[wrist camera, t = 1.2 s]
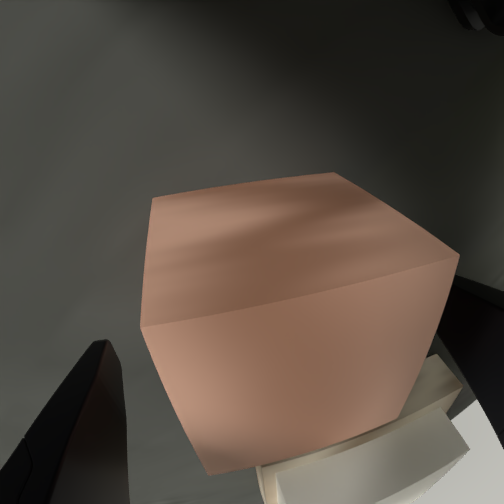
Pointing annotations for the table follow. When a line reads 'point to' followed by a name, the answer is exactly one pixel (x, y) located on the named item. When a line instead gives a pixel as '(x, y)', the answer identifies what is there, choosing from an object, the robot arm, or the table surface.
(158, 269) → the terracotta cube
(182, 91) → the table surface
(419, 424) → the cream top slab
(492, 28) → the end cap
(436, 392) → the birch base slab
